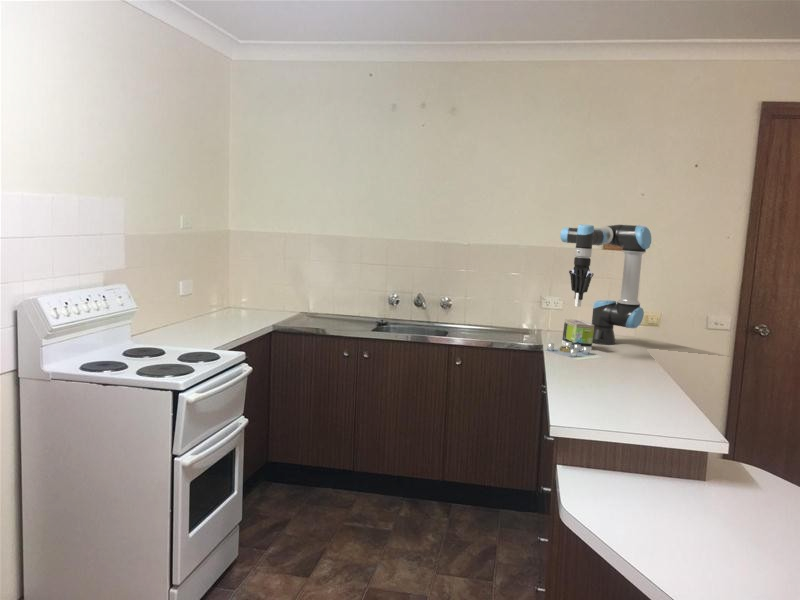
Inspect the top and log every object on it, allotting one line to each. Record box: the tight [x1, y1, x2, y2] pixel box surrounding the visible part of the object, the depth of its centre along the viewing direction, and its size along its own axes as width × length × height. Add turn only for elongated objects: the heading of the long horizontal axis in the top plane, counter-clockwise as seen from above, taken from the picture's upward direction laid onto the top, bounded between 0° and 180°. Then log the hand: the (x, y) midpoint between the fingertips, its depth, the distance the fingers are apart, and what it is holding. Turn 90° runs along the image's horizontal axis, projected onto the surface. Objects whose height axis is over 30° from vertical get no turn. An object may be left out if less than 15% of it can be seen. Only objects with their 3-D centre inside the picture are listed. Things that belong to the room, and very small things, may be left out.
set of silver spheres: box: [546, 342, 591, 358], centre depth 324 cm, size 15×17×4 cm
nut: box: [559, 345, 570, 352], centre depth 327 cm, size 4×5×2 cm
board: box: [543, 348, 602, 361], centre depth 323 cm, size 18×22×1 cm
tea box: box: [561, 318, 594, 351], centre depth 340 cm, size 15×10×15 cm, turn 9°
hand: (577, 306), depth 320 cm, fingers closed
